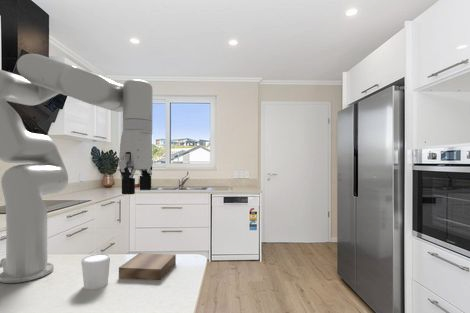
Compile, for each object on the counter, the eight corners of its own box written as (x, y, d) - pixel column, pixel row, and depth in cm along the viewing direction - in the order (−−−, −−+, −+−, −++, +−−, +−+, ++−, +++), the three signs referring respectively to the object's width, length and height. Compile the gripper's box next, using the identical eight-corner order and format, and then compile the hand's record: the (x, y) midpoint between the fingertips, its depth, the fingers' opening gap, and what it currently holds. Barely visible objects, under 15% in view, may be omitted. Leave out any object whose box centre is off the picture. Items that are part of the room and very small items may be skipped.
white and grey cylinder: (98, 291, 69) (98, 263, 69) (74, 289, 70) (74, 261, 70) (116, 279, 76) (115, 254, 76) (93, 278, 77) (93, 252, 77)
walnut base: (118, 278, 76) (118, 267, 76) (139, 262, 88) (139, 253, 88) (160, 280, 75) (160, 269, 75) (175, 264, 87) (175, 254, 87)
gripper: (139, 131, 83) (138, 188, 83) (105, 123, 66) (105, 195, 66) (163, 131, 82) (163, 188, 82) (135, 123, 65) (135, 196, 65)
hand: (137, 191), depth 74 cm, fingers open, 9 cm apart
